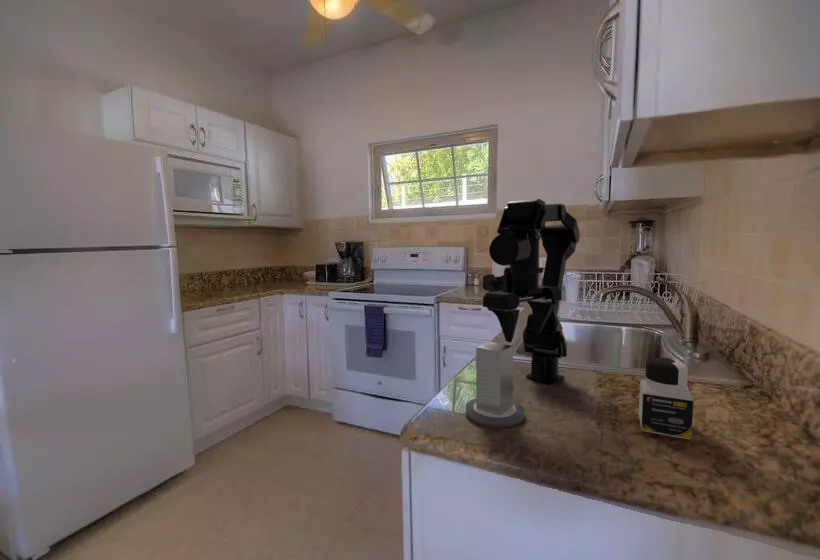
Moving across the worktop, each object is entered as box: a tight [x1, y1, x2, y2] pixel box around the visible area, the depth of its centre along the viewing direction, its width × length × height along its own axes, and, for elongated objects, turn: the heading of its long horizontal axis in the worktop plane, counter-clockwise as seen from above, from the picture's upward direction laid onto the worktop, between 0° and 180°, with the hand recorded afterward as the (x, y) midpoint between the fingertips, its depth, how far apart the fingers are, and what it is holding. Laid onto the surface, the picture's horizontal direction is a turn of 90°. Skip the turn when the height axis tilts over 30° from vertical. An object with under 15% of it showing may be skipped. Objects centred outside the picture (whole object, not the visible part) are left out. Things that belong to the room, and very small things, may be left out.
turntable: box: [465, 397, 525, 429], centre depth 74 cm, size 11×11×1 cm
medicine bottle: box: [638, 357, 695, 440], centre depth 67 cm, size 7×7×12 cm
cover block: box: [475, 341, 514, 416], centre depth 73 cm, size 5×5×12 cm
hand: (523, 338), depth 79 cm, fingers open, 9 cm apart
